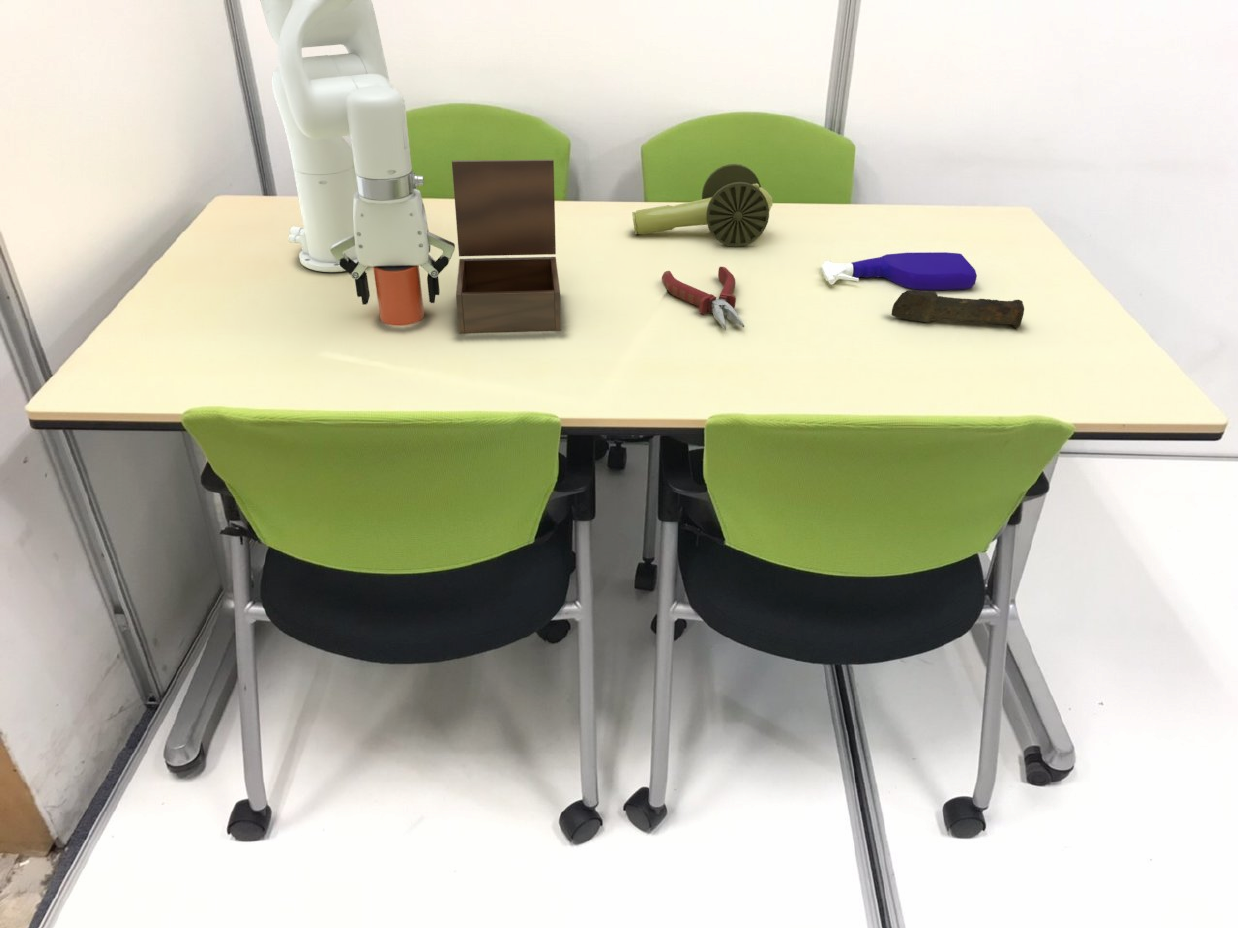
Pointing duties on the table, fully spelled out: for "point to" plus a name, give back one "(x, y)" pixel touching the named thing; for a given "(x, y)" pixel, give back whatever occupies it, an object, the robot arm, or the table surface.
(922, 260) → the spray bottle
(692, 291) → the pliers
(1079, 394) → the table surface
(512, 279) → the box
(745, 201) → the cannon
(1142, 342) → the table surface
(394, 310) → the tin
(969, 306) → the hand tool
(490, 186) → the lid
